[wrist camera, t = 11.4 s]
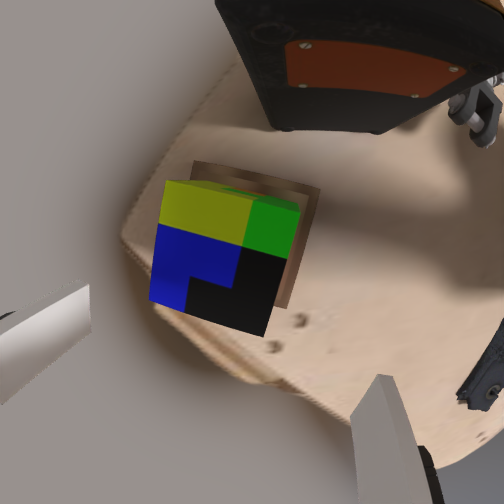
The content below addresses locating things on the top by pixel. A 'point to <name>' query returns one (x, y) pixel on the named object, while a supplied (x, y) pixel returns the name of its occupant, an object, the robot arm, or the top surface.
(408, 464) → the robot arm
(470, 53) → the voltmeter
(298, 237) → the plinth
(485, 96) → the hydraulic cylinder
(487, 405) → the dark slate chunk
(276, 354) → the top surface
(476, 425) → the top surface
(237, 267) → the puzzle toy
